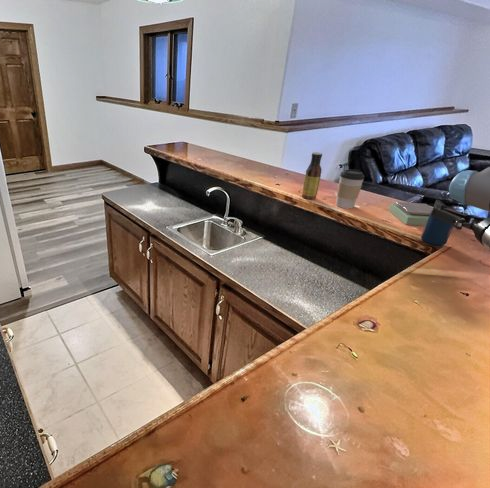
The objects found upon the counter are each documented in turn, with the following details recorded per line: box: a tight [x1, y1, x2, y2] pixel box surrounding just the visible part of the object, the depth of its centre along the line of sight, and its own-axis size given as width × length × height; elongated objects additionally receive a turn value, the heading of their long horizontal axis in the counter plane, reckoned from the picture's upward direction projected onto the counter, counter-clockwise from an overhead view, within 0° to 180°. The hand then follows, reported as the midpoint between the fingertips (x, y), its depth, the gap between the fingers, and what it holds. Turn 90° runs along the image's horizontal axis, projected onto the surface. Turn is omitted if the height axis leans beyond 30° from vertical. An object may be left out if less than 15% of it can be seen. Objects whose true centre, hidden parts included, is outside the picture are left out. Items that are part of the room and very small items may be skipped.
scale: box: [388, 203, 434, 227], centre depth 135 cm, size 15×15×3 cm
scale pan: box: [395, 201, 433, 215], centre depth 134 cm, size 11×11×1 cm
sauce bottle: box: [301, 151, 323, 200], centre depth 152 cm, size 7×6×20 cm
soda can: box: [420, 206, 458, 248], centre depth 113 cm, size 7×7×12 cm
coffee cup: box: [335, 168, 365, 209], centre depth 144 cm, size 9×9×15 cm
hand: (463, 207), depth 100 cm, fingers open, 13 cm apart
